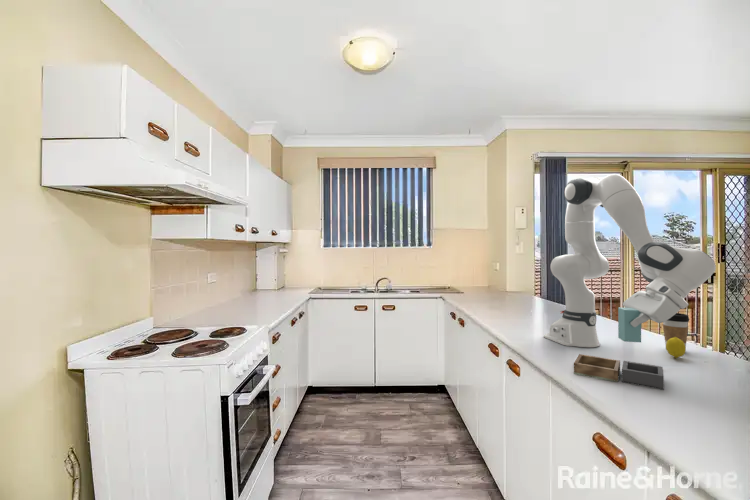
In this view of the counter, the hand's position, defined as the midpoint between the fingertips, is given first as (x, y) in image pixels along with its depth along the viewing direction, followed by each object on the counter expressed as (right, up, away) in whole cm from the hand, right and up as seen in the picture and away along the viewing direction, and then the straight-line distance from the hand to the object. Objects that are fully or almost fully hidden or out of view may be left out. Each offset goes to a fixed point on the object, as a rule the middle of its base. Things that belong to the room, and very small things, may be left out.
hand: (627, 323), depth 109 cm
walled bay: (-6, -18, +6) cm, 20 cm away
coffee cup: (+40, -17, +28) cm, 52 cm away
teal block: (+1, -5, 0) cm, 5 cm away
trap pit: (+4, -18, -2) cm, 18 cm away
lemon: (+32, -17, +19) cm, 41 cm away
